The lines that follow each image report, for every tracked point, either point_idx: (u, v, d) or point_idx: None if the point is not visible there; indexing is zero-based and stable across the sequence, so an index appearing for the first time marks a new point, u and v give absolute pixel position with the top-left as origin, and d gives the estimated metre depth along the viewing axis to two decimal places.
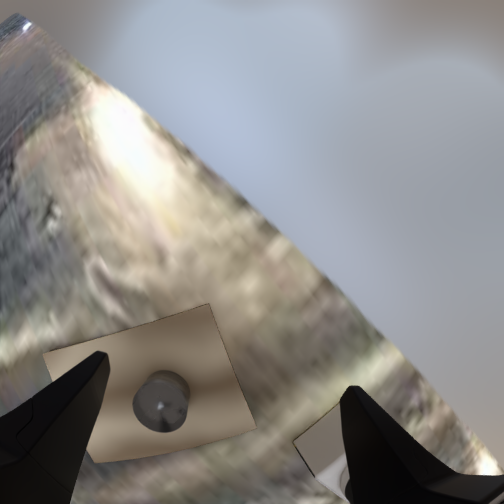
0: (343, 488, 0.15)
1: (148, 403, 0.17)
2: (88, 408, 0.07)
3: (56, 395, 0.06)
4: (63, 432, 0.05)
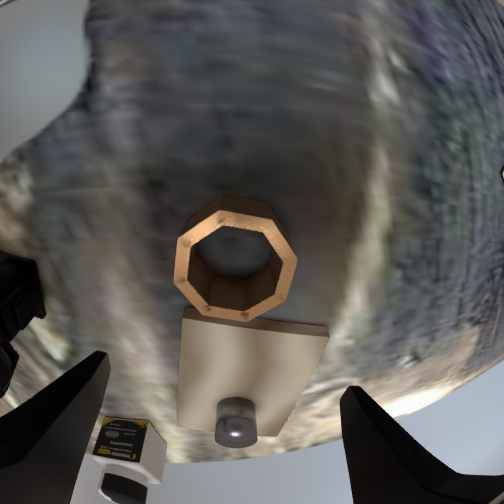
0: (127, 476, 0.22)
1: (244, 437, 0.22)
2: (88, 408, 0.07)
3: (56, 395, 0.06)
4: (63, 432, 0.05)
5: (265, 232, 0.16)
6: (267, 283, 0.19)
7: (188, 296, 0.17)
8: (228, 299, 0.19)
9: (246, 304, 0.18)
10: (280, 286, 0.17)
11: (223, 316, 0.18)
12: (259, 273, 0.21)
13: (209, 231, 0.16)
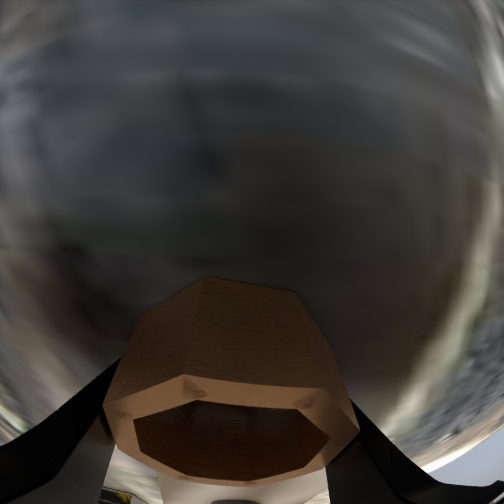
0: None
1: None
2: None
3: (83, 405, 0.06)
4: (92, 443, 0.05)
5: (302, 409, 0.06)
6: (290, 432, 0.09)
7: (149, 464, 0.07)
8: (221, 456, 0.09)
9: (252, 466, 0.08)
10: (316, 460, 0.07)
11: (213, 483, 0.08)
12: None
13: (166, 405, 0.06)
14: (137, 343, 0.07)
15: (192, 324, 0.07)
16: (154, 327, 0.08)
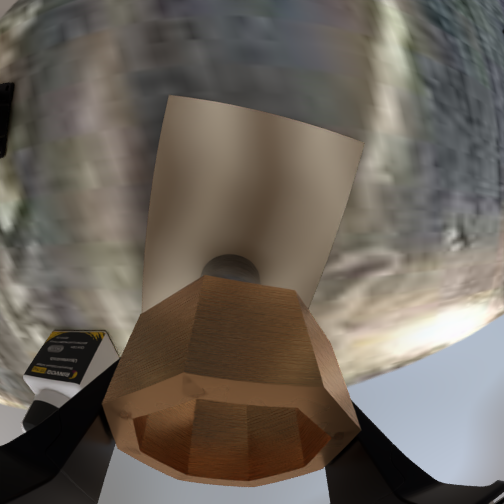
0: None
1: None
2: None
3: (83, 406, 0.06)
4: (92, 443, 0.05)
5: (303, 407, 0.06)
6: (291, 431, 0.09)
7: (149, 464, 0.07)
8: (221, 455, 0.09)
9: (252, 466, 0.08)
10: (317, 459, 0.07)
11: (213, 483, 0.08)
12: None
13: (166, 404, 0.06)
14: (137, 342, 0.07)
15: (192, 322, 0.07)
16: (154, 326, 0.08)
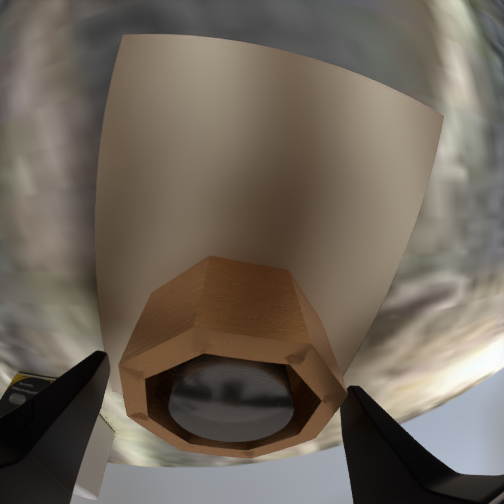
0: None
1: (254, 409, 0.08)
2: (88, 408, 0.07)
3: (56, 395, 0.06)
4: (63, 432, 0.05)
5: (294, 364, 0.07)
6: None
7: (155, 432, 0.08)
8: None
9: None
10: (309, 426, 0.08)
11: (214, 453, 0.09)
12: None
13: (177, 361, 0.07)
14: (150, 313, 0.09)
15: (200, 291, 0.08)
16: (165, 299, 0.09)
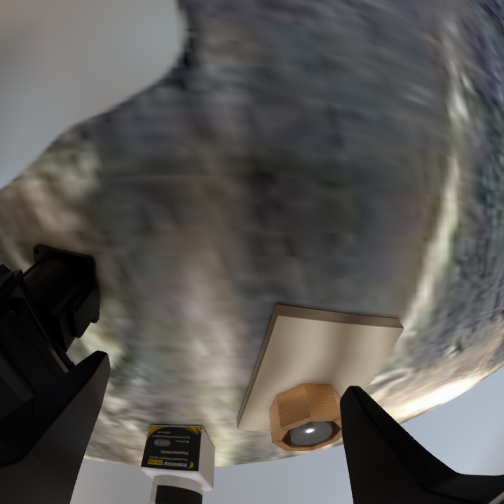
0: (184, 486, 0.22)
1: (320, 433, 0.22)
2: (88, 408, 0.07)
3: (56, 395, 0.06)
4: (63, 432, 0.05)
5: (335, 420, 0.21)
6: None
7: (279, 445, 0.23)
8: None
9: None
10: (336, 436, 0.23)
11: (298, 450, 0.23)
12: None
13: (301, 424, 0.21)
14: (284, 407, 0.23)
15: (307, 402, 0.22)
16: (289, 401, 0.23)
